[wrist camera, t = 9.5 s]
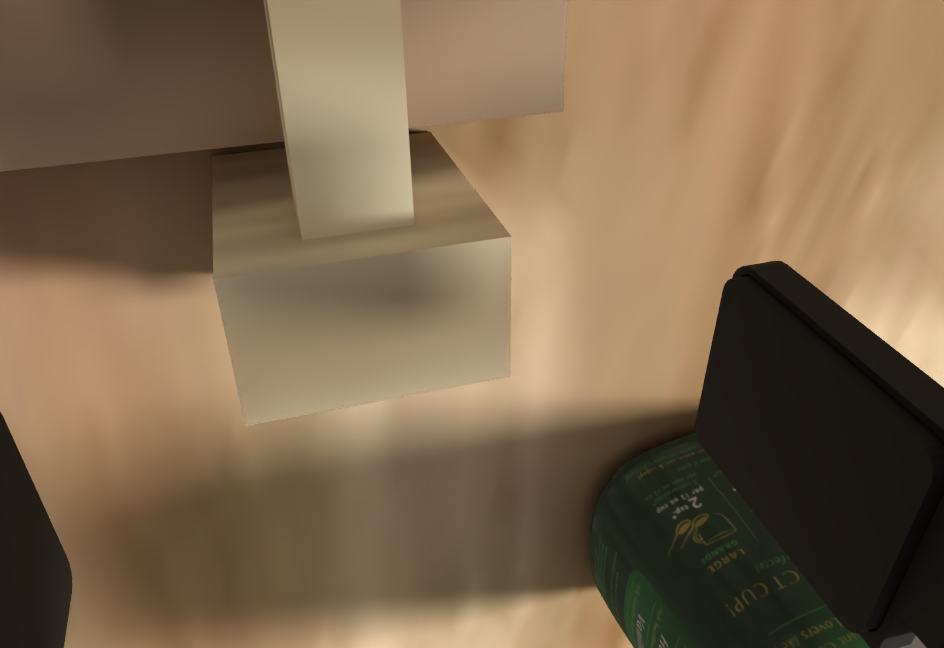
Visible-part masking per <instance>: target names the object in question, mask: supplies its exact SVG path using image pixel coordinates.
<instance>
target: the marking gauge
mask: <svg viewBox="0 0 944 648" xmlns="http://www.w3.org/2000/svg"><path fill="white" fill-rule="evenodd" d="M263 1H264V8H265V14H266V21H267V28H268V34H269V41H270V48H271V55H272V61H273V68H274V75H275V81H276V88H277V95H278V102H279V108H280V115H281V122H282V128H283V135H284V142H285V148H279V149H269V150H260V151H251V152H242V153H233V154H223V155H214V156H211V161H212V225H213V280H214V284H215V289H216V294H217V298H218V303H219V307H220V312H221V316H222V321H223V325H224V330H225V335H226V339H227V344H228V348H229V353H230V357H231V362H232V366H233V371H234V375H235V380H236V385H237V389H238V394H239V398H240V403H241V407H242V412H243V416H244V421H245V426H249V425H254V424H260V423H265V422H270V421H276V420H281V419H286V418H292V417H297V416H302V415H308V414H313V413H319V412H324V411H329V410H335V409H340V408H345V407H351V406H356V405H361V404H367V403H372V402H377V401H383V400H388V399H394V398H399V397H404V396H410V395H415V394H420V393H426V392H431V391H436V390H442V389H447V388H453V387H458V386H463V385H469V384H474V383H479V382H485V381H490V380H495V379H501V378H506V377H510V320H511V235H510V234H509V233H508V232H507V230H506V229H505V228H504V226H503V225H502V224H501V223H500V221H499V220H498V219H497V217H496V216H495V215H494V214H493V212H492V211H491V210H490V208H489V207H488V206H487V204H486V203H485V202H484V201H483V199H482V198H481V197H480V195H479V194H478V193H477V192H476V190H475V189H474V188H473V186H472V185H471V184H470V183H469V181H468V180H467V179H466V177H465V176H464V175H463V173H462V172H461V171H460V170H459V168H458V167H457V166H456V164H455V163H454V162H453V161H452V159H451V158H450V157H449V155H448V154H447V153H446V152H445V150H444V149H443V148H442V146H441V145H440V144H439V143H438V141H437V140H436V139H435V137H434V136H433V135H432V133H431V132H426V133H416V134H409V129H408V113H407V97H406V81H405V65H404V49H403V32H402V16H401V0H263Z"/></svg>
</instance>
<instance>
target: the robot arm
mask: <svg viewBox="0 0 944 648" xmlns="http://www.w3.org/2000/svg"><path fill="white" fill-rule="evenodd" d="M696 433H697V437H698V439H699V442H700V444H701V445H702V447H703V448H704V450H705V451H706V452H707V454H708V455H709V456H710V457H711V459H712V460H713V461H714V462H715V464H716V465H717V466H718V468H719V469H720V470H721V471H722V473H723V474H724V475H725V476H726V478H727V479H728V480H729V482H730V483H731V484H732V485H733V487H734V488H735V489H736V490H737V492H738V493H739V494H740V496H741V497H742V498H743V499H744V501H745V502H746V503H747V504H748V506H749V507H750V508H751V510H752V511H753V512H754V513H755V515H756V516H757V517H758V518H759V520H760V521H761V522H762V524H763V525H764V526H765V527H766V529H767V530H768V531H769V532H770V534H771V535H772V536H773V538H774V539H775V540H776V541H777V543H778V544H779V545H780V546H781V548H782V549H783V550H784V552H785V553H786V554H787V555H788V557H789V558H790V559H791V560H792V562H793V563H794V564H795V566H796V567H797V568H798V569H799V571H800V572H801V573H802V574H803V576H804V577H805V578H806V580H807V581H808V582H809V583H810V585H811V586H812V587H813V588H814V590H815V591H816V592H817V594H818V595H819V596H820V597H821V599H822V600H823V601H824V602H825V604H826V605H827V606H828V608H829V609H830V610H831V611H832V613H833V614H834V615H835V616H836V618H837V619H838V620H839V622H840V623H841V624H842V625H843V626H844V627H845V628H846V629H847V630H849V631H850V632H852V633H856V634H857V633H859V635H860V636H861V637H862V638H863V640H864V641H865V642H866V643H867V645H868V646H869V647H870V648H900V647H904V646H907V645H910V644H912V642H913V640H914V638H915V636H917V637H918V639H919V640H920V641H921V642H922V643H923V644H924V645H925V647H926V648H944V388H943V387H942V386H941V385H939V384H938V383H937V382H936V381H934V380H933V379H932V378H931V377H929V376H928V375H927V374H925V373H924V372H923V371H922V370H920V369H919V368H918V367H917V366H915V365H914V364H913V363H911V362H910V361H909V360H908V359H906V358H905V357H904V356H903V355H901V354H900V353H899V352H898V351H896V350H895V349H894V348H892V347H891V346H890V345H889V344H887V343H886V342H885V341H884V340H882V339H881V338H880V337H878V336H877V335H876V334H875V333H873V332H872V331H871V330H870V329H868V328H867V327H866V326H865V325H863V324H862V323H861V322H859V321H858V320H857V319H856V318H854V317H853V316H852V315H851V314H849V313H848V312H847V311H845V310H844V309H843V308H842V307H840V306H839V305H838V304H837V303H835V302H834V301H833V300H832V299H830V298H829V297H828V296H826V295H825V294H824V293H823V292H821V291H820V290H819V289H818V288H816V287H815V286H814V285H812V284H811V283H810V282H809V281H807V280H806V279H805V278H804V277H802V276H801V275H800V274H799V273H797V272H796V271H795V270H793V269H792V268H791V267H790V266H788V265H787V264H785V263H783V262H782V261H771V262H766V263H760V264H754V265H748V266H742V267H740V268H739V269H737V270H736V272H735V273H734V275H733V278H732V279H730V280H728V281H727V282H726V283H725V285H724V288H723V292H722V297H721V302H720V307H719V312H718V317H717V321H716V326H715V331H714V336H713V341H712V346H711V350H710V355H709V360H708V365H707V370H706V375H705V379H704V384H703V389H702V394H701V399H700V404H699V408H698V413H697V418H696ZM71 594H72V574H71V568H70V564H69V561H68V558H67V556H66V554H65V552H64V550H63V547H62V545H61V543H60V541H59V539H58V536H57V534H56V532H55V530H54V528H53V525H52V523H51V521H50V519H49V517H48V514H47V512H46V510H45V508H44V506H43V503H42V501H41V499H40V497H39V494H38V492H37V490H36V488H35V486H34V483H33V481H32V479H31V477H30V475H29V472H28V470H27V468H26V466H25V464H24V461H23V459H22V457H21V455H20V453H19V450H18V448H17V446H16V444H15V442H14V439H13V437H12V435H11V433H10V431H9V428H8V426H7V424H6V422H5V420H4V417H3V415H2V414H1V412H0V648H64V642H65V635H66V628H67V621H68V615H69V608H70V601H71Z"/></svg>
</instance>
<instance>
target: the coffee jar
mask: <svg viewBox="0 0 944 648" xmlns="http://www.w3.org/2000/svg"><path fill="white" fill-rule="evenodd" d="M590 559H591V567H592V572H593V576H594V580H595V583H596V585H597V588H598V590H599V592H600V593H601V595H602V597H603V599H604V601H605V602H606V604H607V606H608V608H609V609H610V611H611V613H612V614H613V616H614V618H615V619H616V621H617V622H618V624H619V625H620V627H621V629H622V630H623V632H624V633H625V635H626V636H627V638H628V639H629V641H630V642H631V644H632V645H633V647H634V648H870V647H869V646H868V645H867V643H866V642H865V641H864V640H863V638H862V637H861V636H860V635H859V633H857V634H856V633H852V632H850V631H849V630H847V629H846V628H845V627H844V626H843V625H842V624H841V623H840V622H839V620H838V619H837V618H836V616H835V615H834V614H833V613H832V611H831V610H830V609H829V608H828V606H827V605H826V604H825V602H824V601H823V600H822V599H821V597H820V596H819V595H818V594H817V592H816V591H815V590H814V588H813V587H812V586H811V585H810V583H809V582H808V581H807V580H806V578H805V577H804V576H803V574H802V573H801V572H800V571H799V569H798V568H797V567H796V566H795V564H794V563H793V562H792V560H791V559H790V558H789V557H788V555H787V554H786V553H785V552H784V550H783V549H782V548H781V546H780V545H779V544H778V543H777V541H776V540H775V539H774V538H773V536H772V535H771V534H770V532H769V531H768V530H767V529H766V527H765V526H764V525H763V524H762V522H761V521H760V520H759V518H758V517H757V516H756V515H755V513H754V512H753V511H752V510H751V508H750V507H749V506H748V504H747V503H746V502H745V501H744V499H743V498H742V497H741V496H740V494H739V493H738V492H737V490H736V489H735V488H734V487H733V485H732V484H731V483H730V482H729V480H728V479H727V478H726V476H725V475H724V474H723V473H722V471H721V470H720V469H719V468H718V466H717V465H716V464H715V462H714V461H713V460H712V459H711V457H710V456H709V455H708V454H707V452H706V451H705V450H704V448H703V447H702V445H701V444H700V442H699V439H698V437H697V433H693V434H690V435H687V436H684V437H681V438H678V439H676V440H673V441H671V442H668V443H665V444H663V445H660V446H657V447H655V448H653V449H650V450H648V451H646V452H644V453H642V454H640V455H638V456H636V457H634V458H633V459H631V460H630V461H628V462H627V463H626V464H625V465H623V466H622V467H621V468H620V469H619V470H618V472H617V473H616V474H615V476H614V477H613V479H612V480H611V481H610V482H609V483H608V485H607V486H606V488H605V489H604V490H603V492H602V494H601V495H600V497H599V499H598V501H597V504H596V507H595V510H594V513H593V517H592V523H591V529H590ZM900 648H926V647H925V645H924V644H923V643H922V642H921V641H920V640H919V639H918V637H917V636H915V638H914V640H913V642H912V644H910V645H907V646H904V647H900Z"/></svg>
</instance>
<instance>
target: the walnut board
mask: <svg viewBox="0 0 944 648" xmlns="http://www.w3.org/2000/svg"><path fill="white" fill-rule="evenodd" d="M567 15H568V0H401V16H402V32H403V49H404V65H405V81H406V97H407V113H408V128H414V127H423V126H433V125H442V124H451V123H461V122H470V121H479V120H489V119H498V118H507V117H517V116H526V115H536V114H545V113H554V112H563V105H564V83H565V60H566V38H567ZM283 141H284V135H283V128H282V122H281V115H280V108H279V102H278V95H277V88H276V81H275V75H274V68H273V61H272V55H271V48H270V41H269V34H268V28H267V21H266V14H265V8H264V1H263V0H0V172H3V171H12V170H21V169H31V168H40V167H49V166H59V165H68V164H77V163H87V162H96V161H105V160H115V159H124V158H133V157H143V156H152V155H161V154H171V153H180V152H190V151H199V150H208V149H218V148H227V147H236V146H246V145H255V144H264V143H274V142H283Z"/></svg>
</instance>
